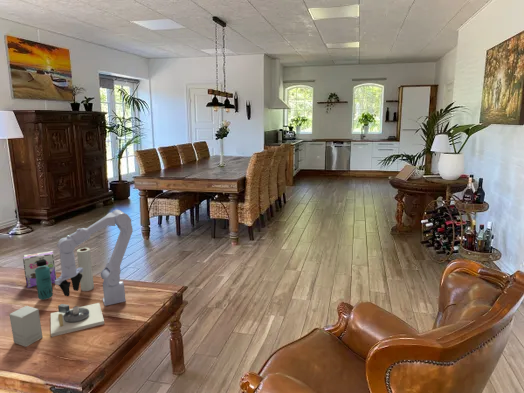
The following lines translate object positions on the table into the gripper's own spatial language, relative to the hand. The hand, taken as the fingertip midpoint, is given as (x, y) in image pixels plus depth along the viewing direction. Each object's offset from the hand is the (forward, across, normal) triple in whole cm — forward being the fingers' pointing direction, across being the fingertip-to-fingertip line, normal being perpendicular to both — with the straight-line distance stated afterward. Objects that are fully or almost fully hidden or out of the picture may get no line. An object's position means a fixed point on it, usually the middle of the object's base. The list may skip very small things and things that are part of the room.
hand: (71, 292), depth 170 cm
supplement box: (+10, +23, -1) cm, 25 cm away
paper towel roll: (+10, -22, -10) cm, 26 cm away
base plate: (+9, +5, +6) cm, 13 cm away
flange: (+8, +5, +5) cm, 10 cm away
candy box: (+10, -20, -38) cm, 44 cm away
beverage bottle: (+10, -6, -22) cm, 25 cm away
